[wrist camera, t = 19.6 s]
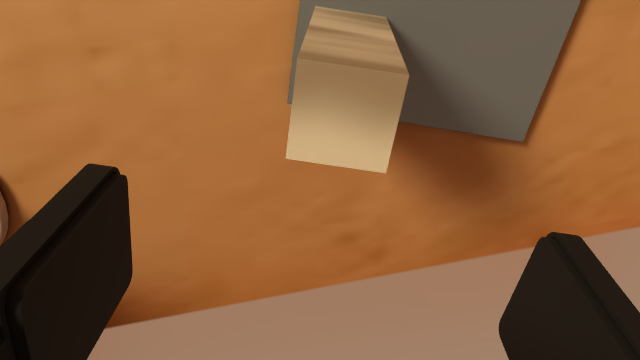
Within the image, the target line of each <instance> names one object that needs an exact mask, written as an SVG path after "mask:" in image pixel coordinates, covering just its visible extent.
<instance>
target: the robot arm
mask: <svg viewBox="0 0 640 360" xmlns="http://www.w3.org/2000/svg"><path fill="white" fill-rule="evenodd" d="M7 230H8V212H7V208H6V203H5V201H4V198H3V196H2V194H1V192H0V245H1V244H2V242H3V241H4V239H5V236H6V233H7ZM131 278H132V251H131V234H130V216H129V199H128V182H127V178H126V176H125V175H120V172H119V170H118V168H116V167H111V166H104V165H97V164H87V165H86V166H85V167H84V168H83V169H82V170H81V171H80V172H79V173H78V174H77V175H76V176H74V177H73V178H72V179H71V180H70V181H69V182H68V183H67V184H66V185H65V186H64V187H63V188H62V189H61V190H60V191H59V192H58V193H57V194H56V195H55V196H54V197H53V198H52V199H51V200H50V201H49V202H48V203H47V204H46V205H45V206H44V207H43V208H42V209H41V210H39V211H38V212H37V213H36V214H35V215H34V216H33V217H32V218H31V219H30V220H29V221H27V222H26V223H25V224H24V225H23V226H22V227H21V228H20V229H19V230H18V231H17V232H16V233H15V234H14V235H13V236H12V237H11V238H10V239H8V240H7V241H6V242H5V243H4V244H3V245H2V246H1V247H0V360H87V358H88V356H89V354H90V353H91V351H92V349H93V348H94V346H95V344H96V342H97V341H98V339H99V337H100V335H101V334H102V332H103V330H104V328H105V327H106V325H107V323H108V321H109V320H110V318H111V316H112V314H113V313H114V311H115V309H116V307H117V306H118V304H119V302H120V300H121V299H122V297H123V295H124V293H125V292H126V290H127V288H128V286H129V284H130V281H131ZM499 335H500V338H501V341H502V343H503V346H504V348H505V351H506V353H507V356H508V358H509V360H640V313H639V311H638V310H637V309H636V307H635V306H634V305H633V304H632V302H631V301H630V300H629V298H628V297H627V296H626V295H625V293H624V292H623V291H622V289H621V288H620V287H619V286H618V284H617V283H616V282H615V280H614V279H613V278H612V277H611V275H610V274H609V273H608V271H607V270H606V269H605V268H604V266H603V265H602V264H601V263H600V261H599V260H598V259H597V257H596V256H595V255H594V253H593V252H592V251H591V250H590V248H589V247H588V246H587V245H586V243H585V242H584V241H583V239H582V238H581V237H579V236H576V235H570V234H564V233H557V232H551V233H549V234H548V235H547V236H546V237H542V238H540V239H539V241H538V242H537V244H536V246H535V248H534V251H533V253H532V255H531V257H530V259H529V261H528V263H527V265H526V267H525V269H524V272H523V274H522V276H521V278H520V280H519V282H518V284H517V286H516V289H515V290H514V293H513V294H512V297H511V299H510V301H509V303H508V305H507V307H506V309H505V311H504V313H503V315H502V318H501V320H500V323H499Z"/></svg>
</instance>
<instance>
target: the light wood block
mask: <svg viewBox="0 0 640 360" xmlns="http://www.w3.org/2000/svg"><path fill="white" fill-rule="evenodd" d="M408 79H409V73H408V70H407V68H406V65H405V63H404V60H403V58H402V55H401V53H400V50H399V48H398V45H397V43H396V40H395V38H394V35H393V33H392V30H391V28H390V25H389V23H388V20H387V18H386V17H382V16H376V15H370V14H363V13H357V12H350V11H344V10H337V9H331V8H324V7H318V6H315V9H314V12H313V15H312V18H311V21H310V23H309V26H308V29H307V32H306V35H305V37H304V40H303V43H302V46H301V49H300V52H299V54H298V57H297V64H296V73H295V82H294V91H293V99H292V108H291V117H290V126H289V134H288V143H287V152H286V159H292V160H299V161H306V162H313V163H320V164H326V165H333V166H340V167H347V168H354V169H361V170H367V171H374V172H381V173H386V171H387V167H388V163H389V158H390V154H391V150H392V146H393V142H394V138H395V133H396V129H397V125H398V121H399V117H400V113H401V108H402V104H403V100H404V96H405V92H406V87H407V83H408Z"/></svg>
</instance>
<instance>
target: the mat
mask: <svg viewBox="0 0 640 360" xmlns="http://www.w3.org/2000/svg"><path fill="white" fill-rule="evenodd" d="M580 1H581V0H300V6H299V14H298V22H297V30H296V38H295V46H294V54H293V62H292V70H291V78H290V86H289V94H288V102H287V103H288V104H292V99H293V91H294V82H295V73H296V64H297V57H298V54H299V52H300V49H301V46H302V43H303V40H304V37H305V35H306V32H307V29H308V26H309V23H310V21H311V18H312V15H313V12H314V9H315V6H318V7H324V8H331V9H337V10H344V11H350V12H357V13H363V14H370V15H376V16H382V17H386V18H387V20H388V23H389V25H390V28H391V30H392V33H393V35H394V38H395V40H396V43H397V45H398V48H399V50H400V53H401V55H402V58H403V60H404V63H405V65H406V68H407V70H408V73H409V79H408V83H407V87H406V92H405V96H404V100H403V104H402V108H401V113H400V117H399V121H398V122H404V123H410V124H416V125H422V126H428V127H434V128H440V129H446V130H453V131H459V132H465V133H471V134H477V135H483V136H489V137H495V138H501V139H507V140H513V141H520V142H523V140H524V138H525V135H526V133H527V130H528V128H529V126H530V123H531V121H532V118H533V116H534V113H535V111H536V109H537V106H538V104H539V101H540V99H541V96H542V94H543V91H544V89H545V87H546V84H547V82H548V79H549V77H550V74H551V72H552V70H553V67H554V65H555V62H556V60H557V57H558V55H559V53H560V50H561V48H562V45H563V43H564V40H565V38H566V36H567V33H568V31H569V28H570V26H571V23H572V21H573V18H574V16H575V14H576V11H577V9H578V6H579V4H580Z"/></svg>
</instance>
